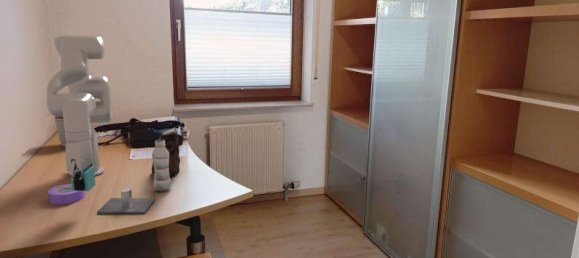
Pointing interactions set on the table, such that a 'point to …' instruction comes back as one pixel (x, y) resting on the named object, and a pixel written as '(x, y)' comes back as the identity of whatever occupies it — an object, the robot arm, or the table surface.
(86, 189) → the teal rounded cube
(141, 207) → the dark grey base plate
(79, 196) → the masking tape
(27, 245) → the table surface
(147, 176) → the table surface
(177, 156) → the owl
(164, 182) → the plastic bottle
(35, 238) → the table surface
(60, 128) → the canister
